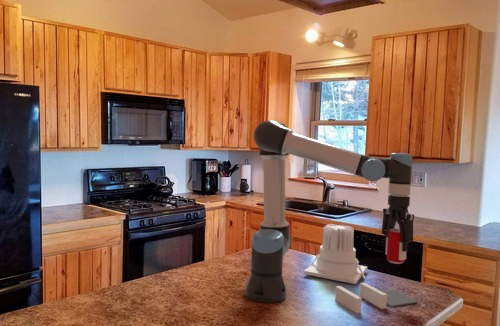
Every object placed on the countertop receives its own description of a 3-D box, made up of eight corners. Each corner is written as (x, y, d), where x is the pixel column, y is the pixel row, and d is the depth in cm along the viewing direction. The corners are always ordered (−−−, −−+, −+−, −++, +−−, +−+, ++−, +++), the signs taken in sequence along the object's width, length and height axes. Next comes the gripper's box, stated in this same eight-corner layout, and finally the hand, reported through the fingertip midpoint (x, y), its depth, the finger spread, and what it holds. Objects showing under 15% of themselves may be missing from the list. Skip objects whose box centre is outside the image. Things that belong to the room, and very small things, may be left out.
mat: (391, 307, 145) (391, 305, 145) (369, 294, 156) (369, 293, 156) (417, 303, 150) (417, 301, 150) (393, 291, 161) (393, 289, 161)
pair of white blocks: (356, 313, 139) (356, 298, 139) (335, 299, 150) (335, 286, 150) (386, 308, 144) (386, 294, 144) (363, 295, 155) (364, 282, 155)
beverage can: (406, 262, 152) (408, 230, 152) (400, 265, 148) (402, 232, 147) (390, 258, 157) (392, 227, 156) (383, 261, 152) (385, 229, 151)
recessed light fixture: (300, 275, 175) (302, 226, 174) (316, 263, 194) (318, 218, 193) (359, 287, 164) (362, 235, 162) (370, 272, 183) (373, 225, 182)
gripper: (427, 198, 144) (423, 263, 145) (388, 191, 161) (385, 249, 162) (411, 199, 141) (407, 265, 142) (373, 191, 158) (370, 250, 159)
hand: (395, 256), depth 152 cm, fingers closed on beverage can, 6 cm apart
